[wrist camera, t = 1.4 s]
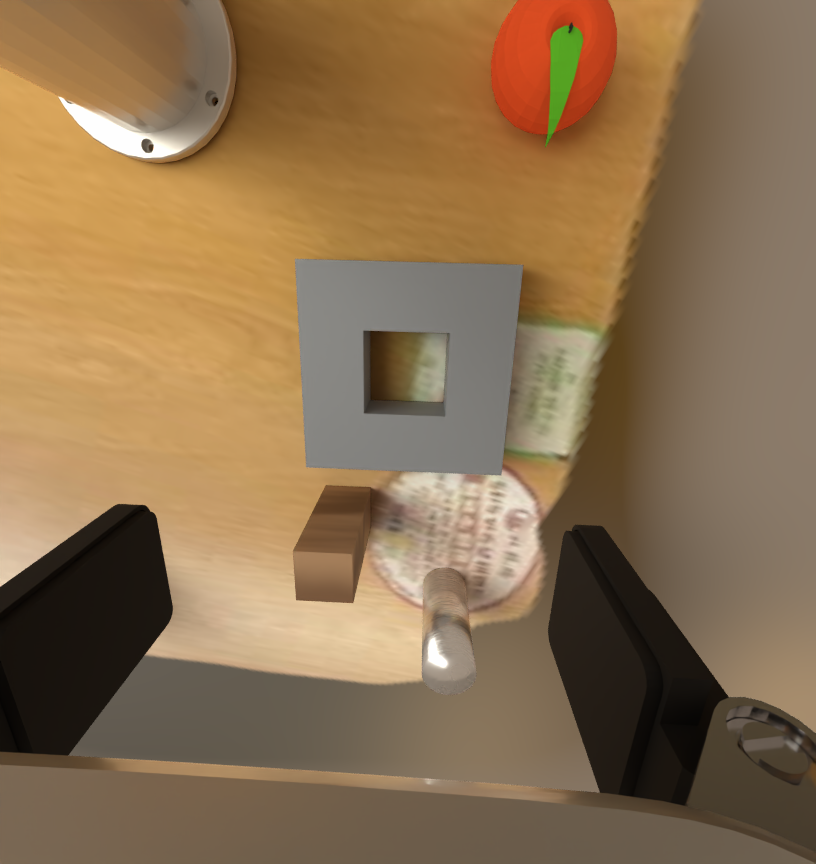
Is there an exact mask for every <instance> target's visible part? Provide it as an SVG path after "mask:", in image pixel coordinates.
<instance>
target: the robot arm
mask: <svg viewBox="0 0 816 864" xmlns="http://www.w3.org/2000/svg"><path fill="white" fill-rule="evenodd" d="M0 67H1V68H3V69H5V70H7V71H9V72H11V73H13V74H15V75H17V76H19V77H21V78H23V79H25V80H27V81H29V82H31V83H33V84H35V85H37V86H39V87H41V88H43V89H45V90H47V91H49V92H51V93H53V94H55V95H57V96H58V98H59V99H60V101H61V102H62V104H63V106H64V107H65V109H66V110H67V111H68V113H69V114H70V115H71V116H72V117H73V119H74V120H75V121H76V122H77V123H78V125H79V126H80V127H82V128H83V129H84V130H85V131H86V132H87V133H88V134H89V135H91V136H92V137H93V138H94V139H95V140H97V141H98V142H100V143H102V144H103V145H105V146H106V147H108V148H109V149H111V150H113V151H115V152H118V153H120V154H122V155H125V156H127V157H130V158H133V159H137V160H140V161H144V162H155V163H164V162H171V161H178V160H180V159H182V158H185V157H187V156H190V155H192V154H194V153H195V152H197V151H198V150H199V149H201V148H202V147H204V146H205V145H206V144H207V143H208V142H209V141H210V140H211V139H212V138H213V136H214V135H215V134H216V133H217V132H218V130H219V129H220V127H221V125H222V123H223V122H224V120H225V118H226V116H227V114H228V111H229V108H230V105H231V102H232V99H233V95H234V89H235V83H236V49H235V42H234V36H233V31H232V27H231V24H230V21H229V18H228V15H227V12H226V9H225V7H224V4H223V2H222V0H0ZM216 100H218V104H217V105H216V106H215V101H216ZM153 146H154V150H153V151H152V148H153ZM172 611H173V605H172V600H171V594H170V589H169V584H168V578H167V573H166V567H165V562H164V556H163V551H162V545H161V540H160V534H159V529H158V523H157V518H156V515H155V514H154V513H153V512H150V510H149V509H148V507H147V506H145V505H129V504H117V505H115V506H113V507H112V508H110V509H109V510H108V511H106V512H105V513H103V514H102V515H101V516H99V517H98V518H96V519H95V520H94V521H92V522H91V523H89V524H88V525H87V526H85V527H84V528H82V529H81V530H80V531H78V532H77V533H75V534H74V535H73V536H71V537H70V538H68V539H67V540H66V541H64V542H63V543H61V544H60V545H58V546H57V547H56V548H54V549H53V550H51V551H50V552H49V553H47V554H46V555H44V556H43V557H42V558H40V559H39V560H37V561H36V562H35V563H33V564H32V565H30V566H29V567H28V568H26V569H25V570H23V571H22V572H21V573H19V574H18V575H16V576H15V577H14V578H12V579H11V580H9V581H8V582H7V583H5V584H4V585H2V586H1V587H0V864H816V733H815V732H813V731H812V730H811V729H810V728H808V727H807V726H806V725H804V724H803V723H802V722H801V721H799V720H798V719H796V718H795V717H793V716H791V715H789V714H788V713H786V712H784V711H783V710H781V709H779V708H777V707H774V706H772V705H769V704H767V703H765V702H762V701H759V700H755V699H751V698H746V697H728V695H727V694H726V693H725V692H724V690H723V689H722V687H721V686H720V684H719V683H718V682H717V680H716V679H715V677H714V676H713V675H712V673H711V672H710V671H709V669H708V668H707V666H706V665H705V664H704V663H703V661H702V660H701V658H700V657H699V655H698V654H697V653H696V651H695V650H694V649H693V647H692V646H691V645H690V643H689V642H688V640H687V639H686V638H685V636H684V635H683V634H682V632H681V631H680V629H679V628H678V627H677V625H676V624H675V623H674V621H673V620H672V619H671V617H670V616H669V614H668V613H667V611H666V610H665V609H664V607H663V606H662V605H661V603H660V602H659V600H658V599H657V598H656V596H655V595H654V594H653V593H652V592H651V591H650V590H648V589H647V587H646V586H645V584H644V583H643V582H642V580H641V579H640V577H639V576H638V575H637V573H636V572H635V570H634V569H633V568H632V566H631V565H630V564H629V562H628V561H627V559H626V558H625V557H624V555H623V554H622V552H621V551H620V549H619V548H618V547H617V545H616V544H615V543H614V541H613V540H612V538H611V537H610V536H609V534H608V533H607V531H606V530H605V529H604V528H603V527H602V526H591V525H590V526H589V525H575V526H574V527H573V529H572V531H566V532H565V533H564V536H563V542H562V548H561V554H560V560H559V566H558V572H557V578H556V584H555V590H554V596H553V602H552V608H551V614H550V621H549V628H548V635H549V642H550V646H551V649H552V652H553V655H554V658H555V661H556V664H557V667H558V670H559V673H560V676H561V678H562V681H563V684H564V687H565V690H566V693H567V696H568V699H569V702H570V705H571V708H572V711H573V714H574V717H575V720H576V723H577V726H578V729H579V732H580V735H581V737H582V741H583V744H584V746H585V749H586V752H587V755H588V758H589V761H590V764H591V767H592V770H593V773H594V776H595V779H596V782H597V785H598V788H599V791H600V793H596V792H586V791H585V792H584V791H575V790H563V789H552V788H541V787H530V786H518V785H508V784H495V783H480V782H466V781H451V780H437V779H424V778H410V777H409V778H408V777H395V776H381V775H367V774H353V773H338V772H323V771H308V770H292V769H276V768H261V767H246V766H231V765H214V764H199V763H182V762H167V761H150V760H134V759H133V760H132V759H117V758H116V759H115V758H99V757H81V756H68V755H69V754H70V752H71V751H72V750H73V748H74V747H75V746H76V744H77V743H78V742H79V741H80V739H81V738H82V737H83V735H84V734H85V733H86V731H87V730H88V729H89V727H90V726H91V725H92V723H93V722H94V721H95V719H96V718H97V717H98V715H99V714H100V713H101V712H102V710H103V709H104V708H105V706H106V705H107V704H108V702H109V701H110V700H111V698H112V697H113V696H114V694H115V693H116V692H117V690H118V689H119V688H120V687H121V685H122V684H123V683H124V681H125V680H126V679H127V677H128V676H129V675H130V673H131V672H132V671H133V669H134V668H135V667H136V665H137V664H138V663H139V662H140V660H141V659H142V658H143V656H144V655H145V654H146V652H147V651H148V650H149V648H150V647H151V646H152V644H153V643H154V642H155V641H156V639H157V638H158V637H159V635H160V634H161V633H162V631H163V630H164V629H165V627H166V626H167V625H168V623H169V621H170V619H171V616H172Z"/></svg>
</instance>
